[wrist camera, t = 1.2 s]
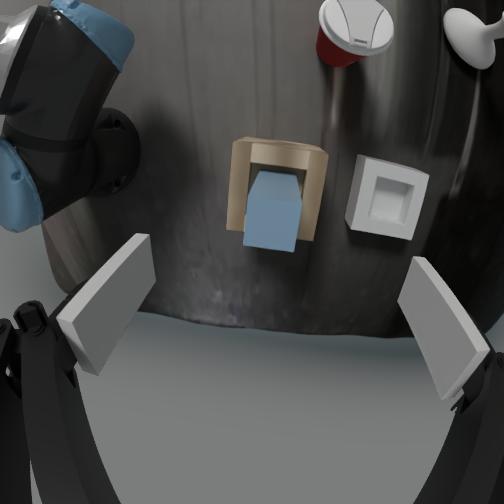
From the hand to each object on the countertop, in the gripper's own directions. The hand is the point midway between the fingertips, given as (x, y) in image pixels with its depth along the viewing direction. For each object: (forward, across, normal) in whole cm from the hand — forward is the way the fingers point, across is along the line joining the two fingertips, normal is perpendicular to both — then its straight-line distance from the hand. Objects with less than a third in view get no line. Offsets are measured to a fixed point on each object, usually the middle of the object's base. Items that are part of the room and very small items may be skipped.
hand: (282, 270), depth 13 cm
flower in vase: (+28, +30, +29) cm, 51 cm away
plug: (+20, 0, -1) cm, 20 cm away
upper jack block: (+28, 0, -1) cm, 28 cm away
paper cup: (+29, +7, +18) cm, 35 cm away
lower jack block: (+28, +16, -2) cm, 32 cm away
